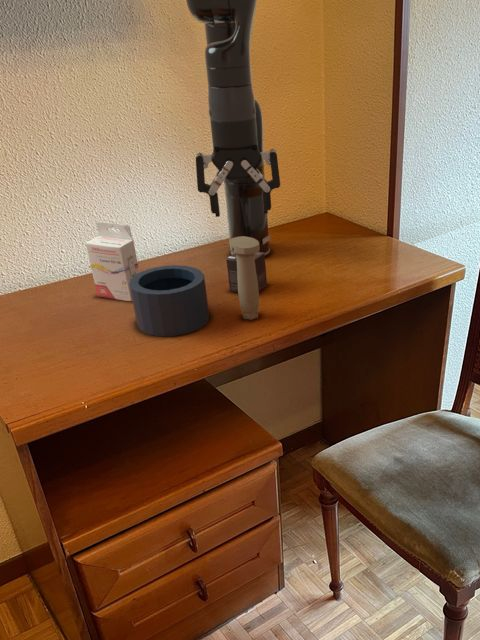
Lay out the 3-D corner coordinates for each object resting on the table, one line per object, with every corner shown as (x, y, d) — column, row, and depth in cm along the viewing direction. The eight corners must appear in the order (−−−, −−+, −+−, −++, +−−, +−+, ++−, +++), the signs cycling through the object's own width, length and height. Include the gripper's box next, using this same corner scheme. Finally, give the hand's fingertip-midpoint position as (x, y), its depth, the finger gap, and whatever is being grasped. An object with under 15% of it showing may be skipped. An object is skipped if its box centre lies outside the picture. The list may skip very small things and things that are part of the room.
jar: (141, 307, 134) (133, 267, 129) (209, 303, 135) (204, 263, 130) (133, 338, 123) (124, 296, 118) (208, 333, 124) (202, 291, 119)
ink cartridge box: (96, 297, 139) (80, 228, 130) (109, 288, 142) (95, 220, 134) (131, 302, 136) (117, 231, 128) (144, 292, 140) (131, 223, 132)
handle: (248, 326, 126) (241, 249, 117) (231, 314, 130) (223, 240, 122) (269, 319, 128) (264, 244, 120) (252, 308, 133) (246, 234, 124)
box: (267, 285, 142) (265, 252, 138) (254, 296, 137) (251, 262, 133) (243, 281, 144) (240, 248, 140) (229, 291, 140) (225, 258, 135)
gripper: (274, 109, 112) (280, 205, 121) (190, 113, 111) (202, 210, 120) (277, 117, 106) (282, 218, 115) (188, 121, 105) (200, 223, 114)
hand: (241, 214), depth 118 cm, fingers open, 8 cm apart
